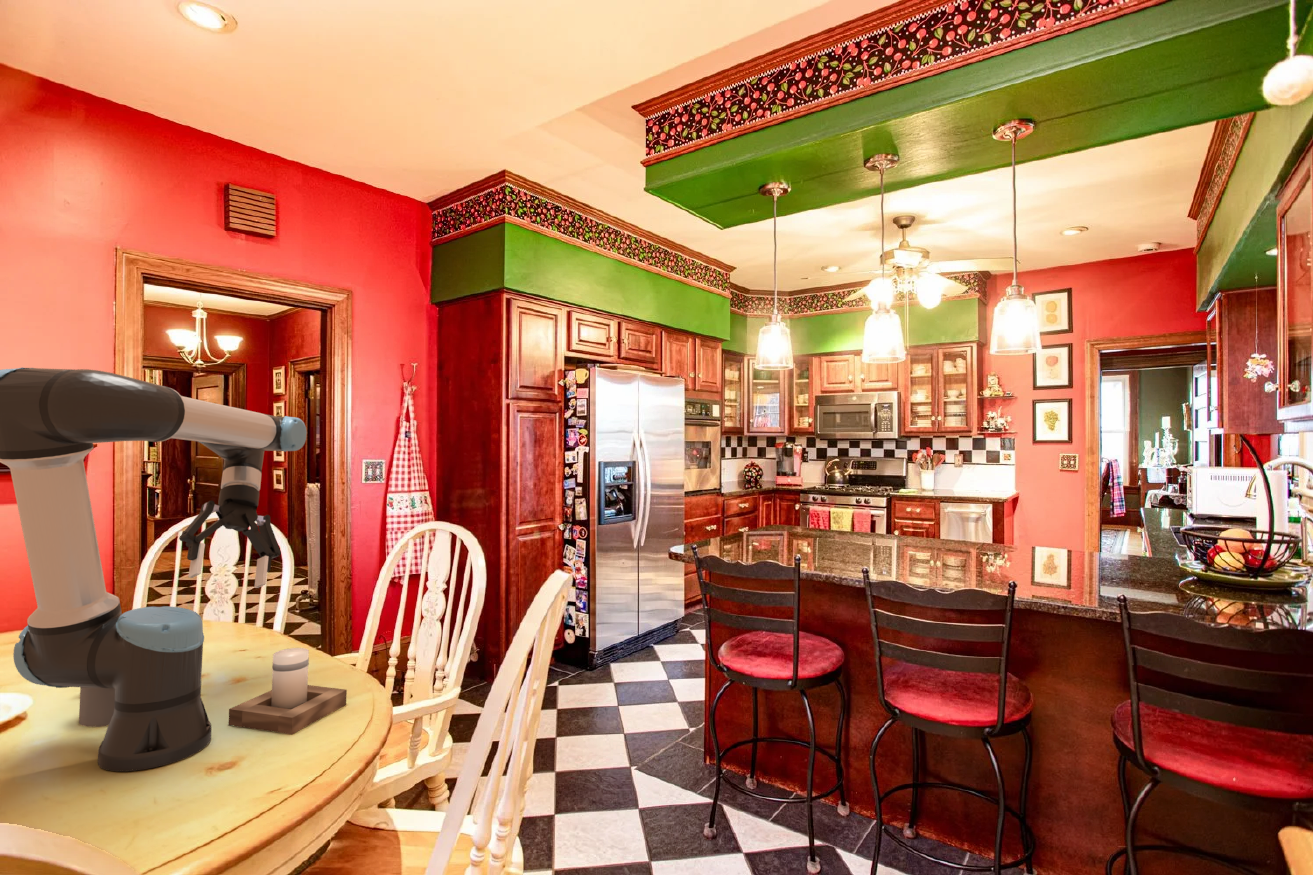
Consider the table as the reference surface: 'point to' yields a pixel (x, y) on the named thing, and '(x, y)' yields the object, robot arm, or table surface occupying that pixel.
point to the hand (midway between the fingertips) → (228, 581)
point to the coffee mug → (96, 706)
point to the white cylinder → (290, 677)
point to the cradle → (287, 711)
